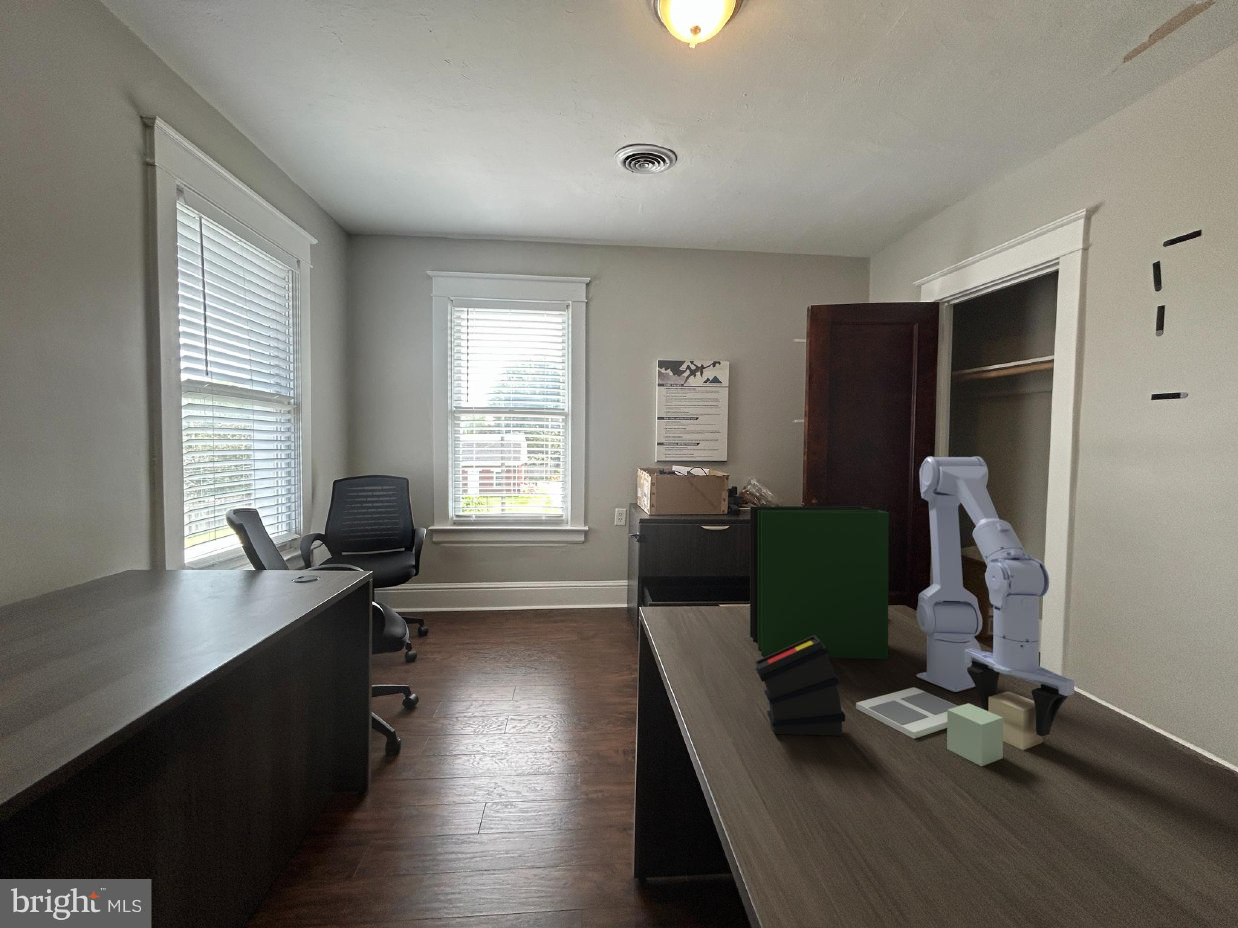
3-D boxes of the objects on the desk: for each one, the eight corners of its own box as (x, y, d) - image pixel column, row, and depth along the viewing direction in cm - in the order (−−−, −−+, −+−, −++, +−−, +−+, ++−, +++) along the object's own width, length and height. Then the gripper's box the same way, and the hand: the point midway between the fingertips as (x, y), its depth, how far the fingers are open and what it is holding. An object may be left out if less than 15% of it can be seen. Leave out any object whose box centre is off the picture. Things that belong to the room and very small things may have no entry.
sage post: (968, 741, 82) (968, 703, 82) (1002, 758, 78) (1003, 717, 78) (947, 748, 80) (947, 709, 80) (981, 766, 76) (981, 724, 76)
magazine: (865, 727, 83) (823, 641, 83) (787, 761, 84) (746, 675, 84) (855, 715, 87) (815, 633, 87) (781, 748, 88) (742, 666, 88)
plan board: (914, 692, 99) (914, 686, 99) (974, 718, 89) (974, 712, 89) (856, 708, 93) (856, 702, 93) (913, 738, 83) (913, 731, 83)
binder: (762, 656, 117) (762, 512, 117) (748, 634, 132) (749, 505, 132) (888, 658, 116) (888, 512, 115) (860, 635, 131) (860, 506, 130)
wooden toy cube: (1007, 727, 86) (1007, 691, 86) (1042, 742, 82) (1042, 704, 82) (988, 734, 84) (988, 696, 84) (1023, 750, 80) (1023, 710, 80)
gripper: (953, 626, 88) (952, 707, 88) (1055, 655, 75) (1054, 751, 75) (979, 620, 91) (979, 699, 91) (1082, 647, 78) (1081, 740, 78)
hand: (1015, 722), depth 83 cm, fingers open, 7 cm apart
